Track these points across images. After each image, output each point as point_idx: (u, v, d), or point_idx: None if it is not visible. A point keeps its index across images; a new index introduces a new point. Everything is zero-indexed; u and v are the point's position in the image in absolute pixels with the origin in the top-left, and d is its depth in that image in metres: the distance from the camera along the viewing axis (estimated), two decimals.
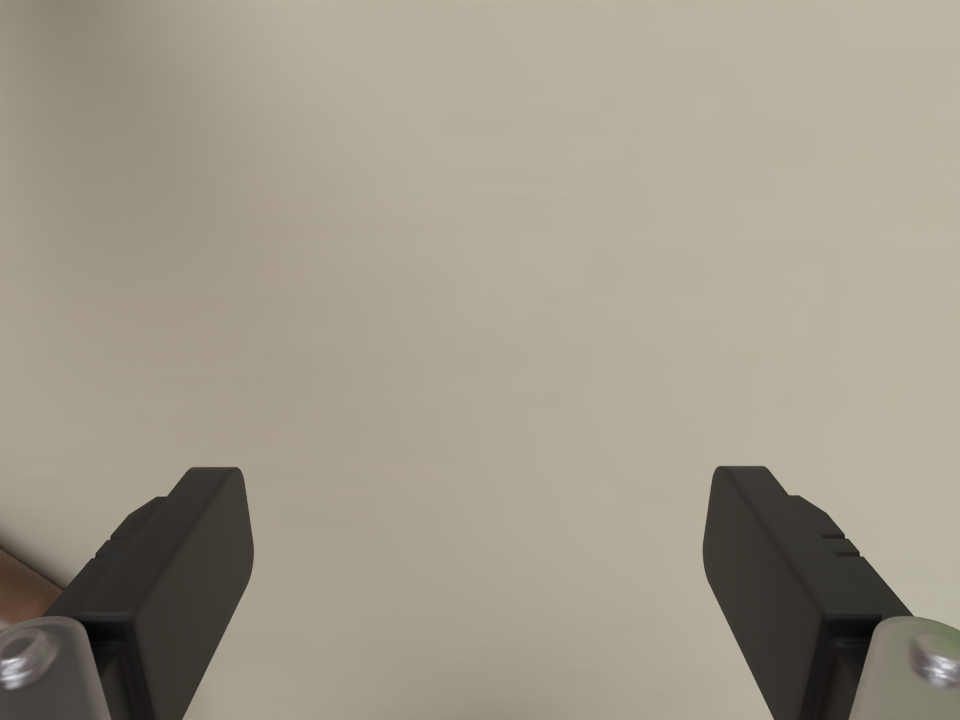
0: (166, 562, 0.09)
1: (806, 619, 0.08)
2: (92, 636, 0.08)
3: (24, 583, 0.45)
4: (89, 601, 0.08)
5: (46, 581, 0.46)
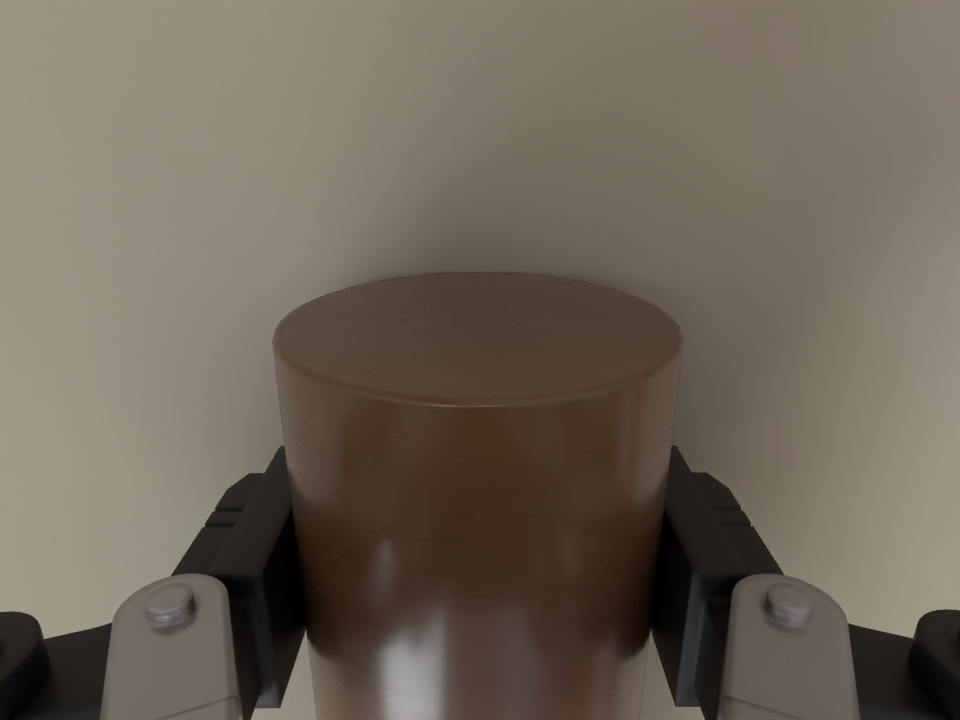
0: (279, 528, 0.09)
1: (685, 579, 0.09)
2: None
3: None
4: (218, 561, 0.08)
5: None
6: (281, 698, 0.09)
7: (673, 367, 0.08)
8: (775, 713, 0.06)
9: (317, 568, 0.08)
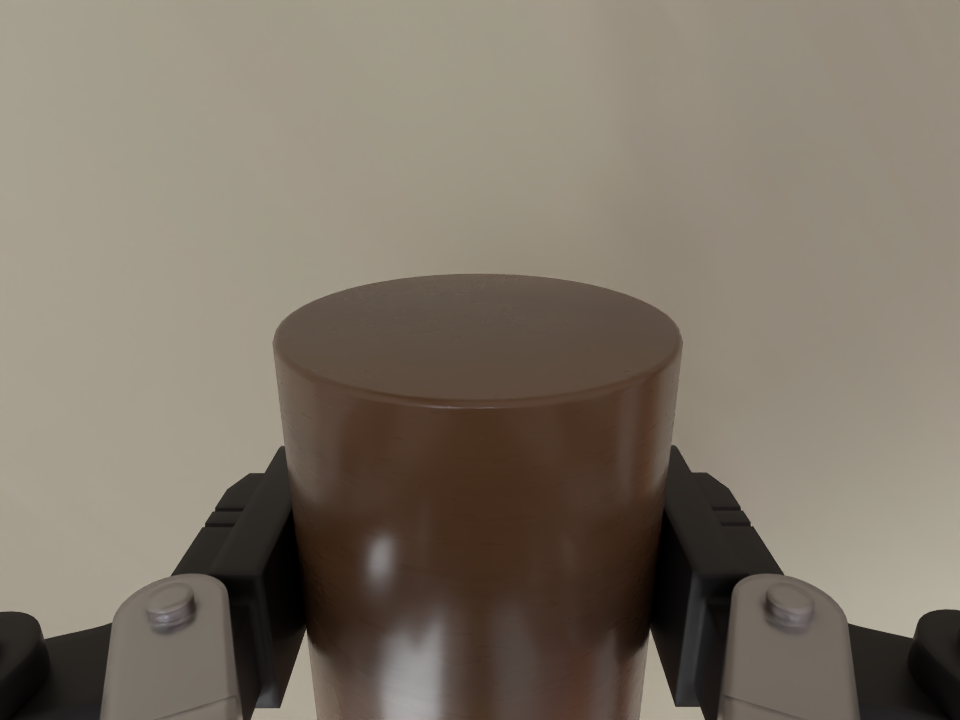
0: (279, 528, 0.09)
1: (684, 580, 0.09)
2: None
3: None
4: (218, 561, 0.08)
5: None
6: (281, 698, 0.09)
7: (672, 368, 0.08)
8: (773, 713, 0.06)
9: (318, 569, 0.08)
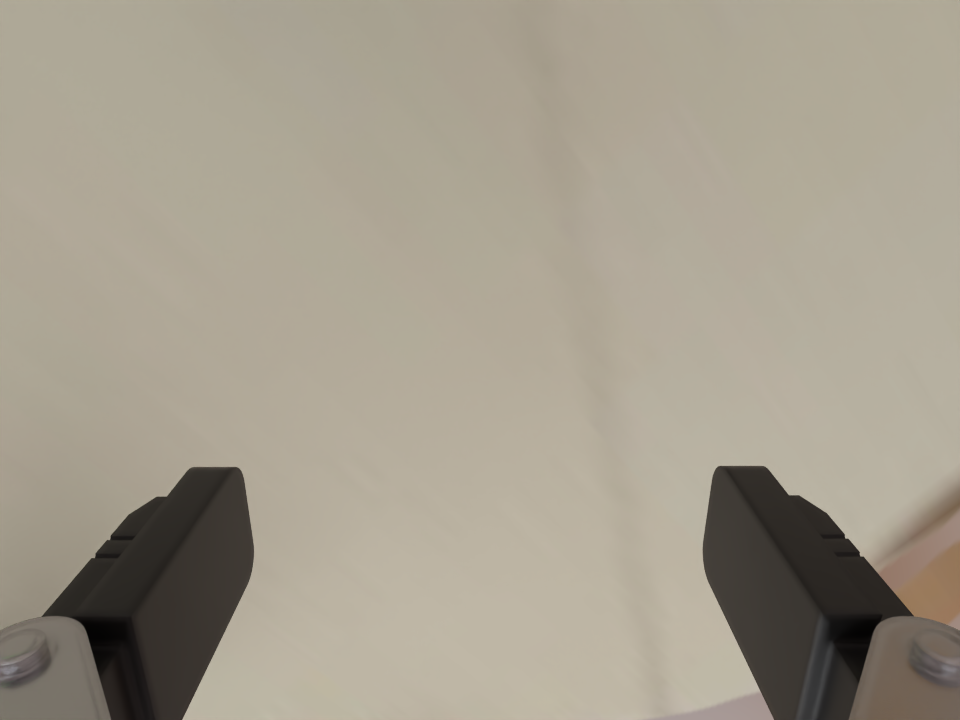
0: (166, 562, 0.09)
1: (806, 619, 0.08)
2: (92, 636, 0.08)
3: None
4: (89, 601, 0.08)
5: None
6: None
7: None
8: None
9: None
